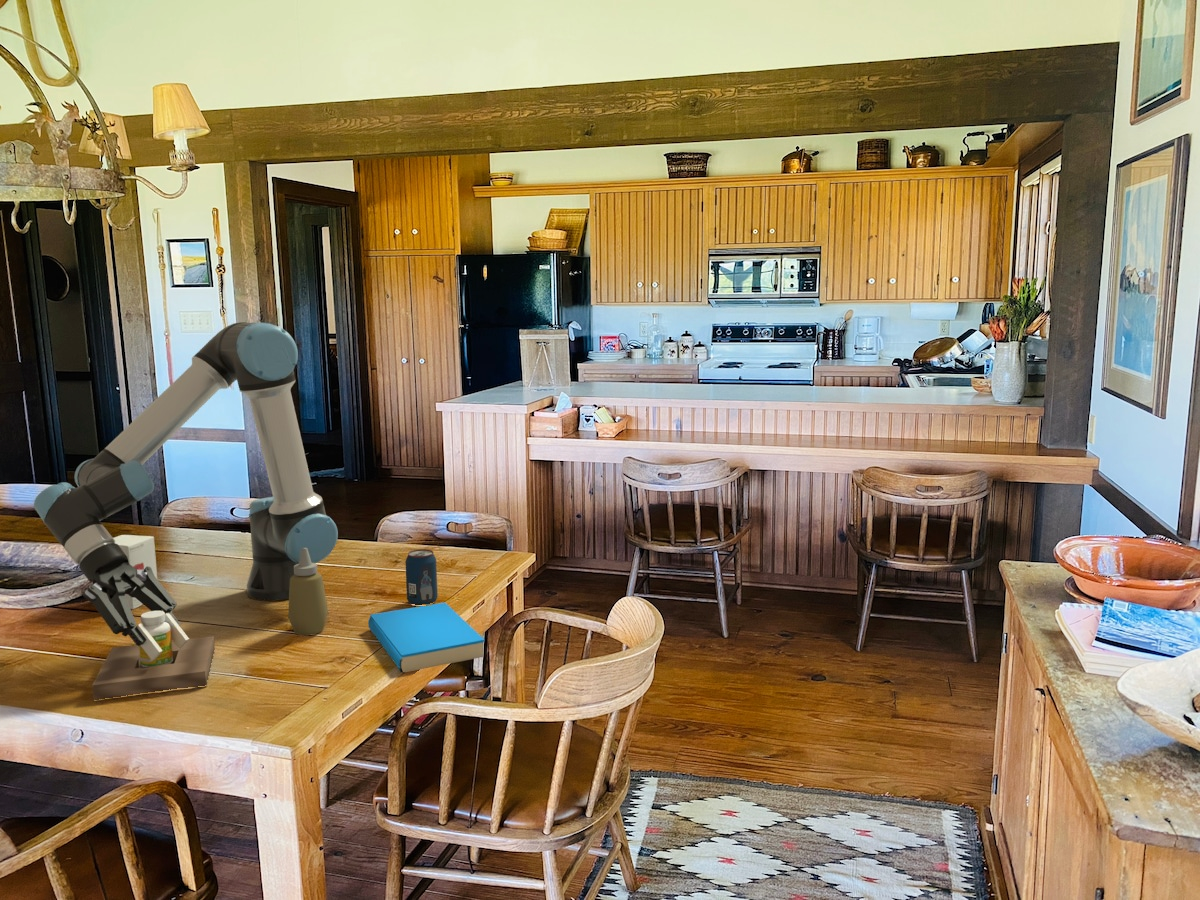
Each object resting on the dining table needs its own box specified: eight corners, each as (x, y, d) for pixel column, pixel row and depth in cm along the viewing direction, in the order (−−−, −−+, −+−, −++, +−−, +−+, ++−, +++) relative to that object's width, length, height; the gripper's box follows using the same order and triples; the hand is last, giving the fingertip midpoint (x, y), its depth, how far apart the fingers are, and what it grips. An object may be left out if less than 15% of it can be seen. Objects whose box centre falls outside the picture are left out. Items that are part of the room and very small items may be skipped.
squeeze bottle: (292, 640, 182) (286, 555, 179) (286, 628, 189) (281, 546, 186) (332, 633, 185) (328, 550, 182) (325, 621, 192) (320, 541, 189)
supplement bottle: (157, 671, 162) (152, 620, 160) (134, 667, 163) (129, 617, 162) (179, 660, 167) (175, 610, 165) (157, 656, 168) (152, 607, 167)
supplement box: (133, 610, 200) (127, 546, 198) (98, 607, 202) (92, 544, 200) (160, 597, 209) (155, 535, 206) (127, 594, 211) (121, 533, 208)
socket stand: (214, 650, 177) (213, 636, 176) (206, 687, 160) (205, 671, 159) (113, 662, 171) (112, 647, 170) (93, 701, 154) (92, 685, 154)
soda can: (420, 596, 209) (418, 547, 207) (443, 600, 206) (442, 550, 204) (400, 605, 203) (398, 554, 201) (424, 609, 200) (422, 558, 198)
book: (444, 602, 195) (485, 637, 173) (445, 620, 195) (486, 658, 173) (366, 615, 187) (399, 654, 165) (367, 634, 187) (400, 676, 165)
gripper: (129, 553, 176) (199, 643, 173) (42, 580, 159) (118, 680, 156) (147, 530, 173) (219, 621, 170) (60, 555, 156) (138, 656, 153)
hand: (170, 649), depth 163 cm, fingers closed on supplement bottle, 5 cm apart
